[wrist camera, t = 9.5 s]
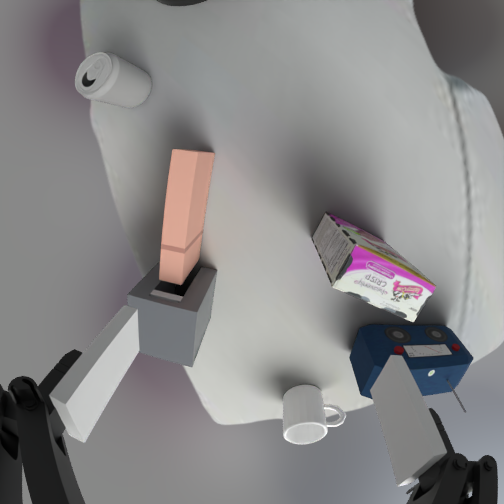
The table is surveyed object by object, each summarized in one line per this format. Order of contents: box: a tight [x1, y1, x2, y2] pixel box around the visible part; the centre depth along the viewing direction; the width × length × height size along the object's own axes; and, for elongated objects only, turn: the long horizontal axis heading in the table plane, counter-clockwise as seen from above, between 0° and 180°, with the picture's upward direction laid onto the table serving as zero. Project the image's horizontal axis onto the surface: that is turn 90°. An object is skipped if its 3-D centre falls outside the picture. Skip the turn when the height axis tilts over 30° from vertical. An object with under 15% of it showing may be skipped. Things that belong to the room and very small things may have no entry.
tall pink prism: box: [159, 149, 215, 285], centre depth 35 cm, size 16×3×9 cm, turn 169°
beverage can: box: [75, 52, 152, 108], centre depth 29 cm, size 6×6×12 cm
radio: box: [349, 324, 473, 412], centre depth 36 cm, size 21×9×20 cm, turn 85°
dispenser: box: [127, 262, 217, 367], centre depth 39 cm, size 9×9×12 cm
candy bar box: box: [312, 212, 436, 322], centre depth 32 cm, size 11×5×16 cm, turn 67°
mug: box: [283, 385, 346, 444], centre depth 46 cm, size 8×12×10 cm
